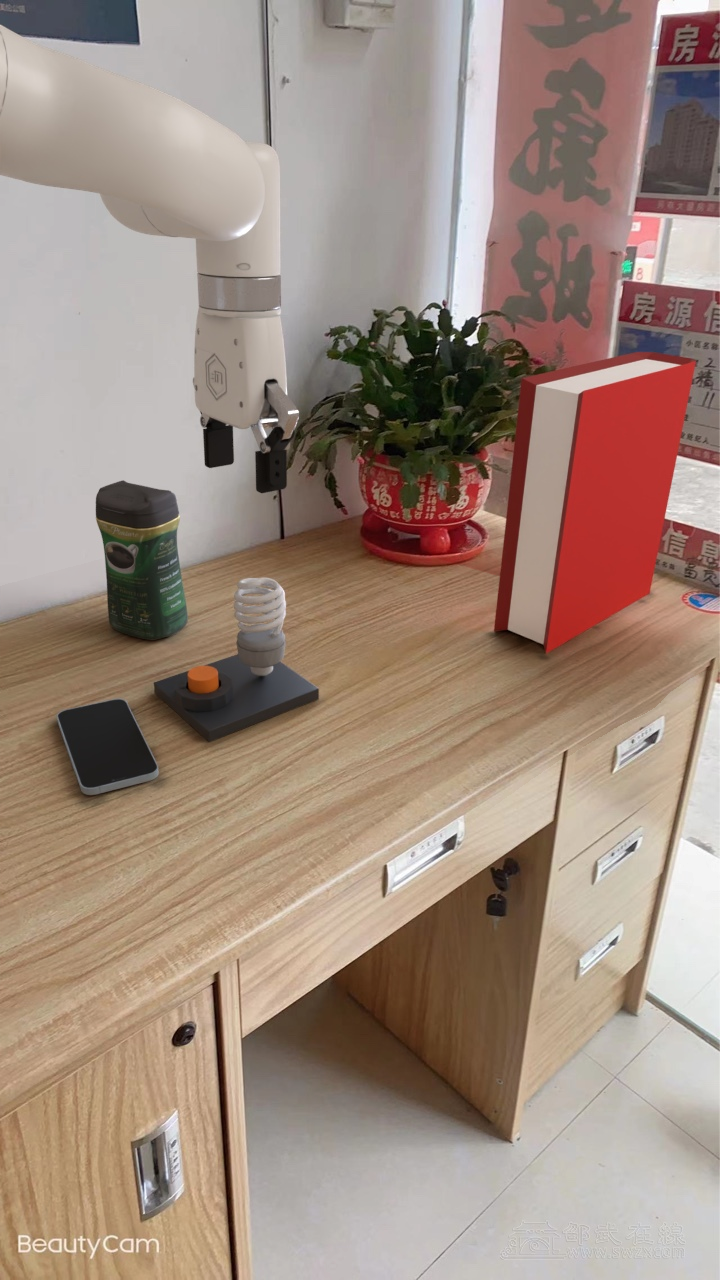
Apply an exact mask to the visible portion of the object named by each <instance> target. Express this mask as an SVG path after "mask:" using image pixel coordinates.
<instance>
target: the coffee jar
mask: <svg viewBox="0 0 720 1280" xmlns="http://www.w3.org/2000/svg"><path fill="white" fill-rule="evenodd" d="M177 501H178V500H177V497H176V494H175V493H174V492H172V491H171V490H169V489H160V488H155V487H151V486H147V485H141V484H136V483H133V482H132V483H131V482H128V481H125V480H119V481H116V482H113V483H110V484H107V485H104V486H102V487H100V488H99V489H98V492H97V493H96V496H95V520H96V524H97V527H98V530H99V532H100V534H101V539H102V545H103V552H104V553H103V554H104V563H105V575H106V598H107V600H106V602H107V614H108V622H109V623H108V624H109V625H110V627H111V628H112V629H114V630H116V631H117V632H120V633H122V634H124V635H128V636H130V637H134V638H139V639H143V640H147V641H155V640H159V639H163V638H167V637H171V636H174V635H175V634H178V633H179V632H180V631H181V630H182V629H184V627H185V626H186V625H187V624H188V621H189V616H188V609H187V608H188V607H187V601H186V595H185V589H184V584H183V578H182V571H181V563H180V557H179V550H178V530H179V529H178V528H179V525H180V519H181V517H180V510H179V506H178V502H177Z"/></svg>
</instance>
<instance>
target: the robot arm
mask: <svg viewBox="0 0 720 1280" xmlns="http://www.w3.org/2000/svg"><path fill="white" fill-rule="evenodd" d="M0 176H3V177H8V178H10V179H15V180H18V181H22V182H25V183H29V184H34V185H39V186H45V187H53V188H60V189H66V190H67V189H68V190H75V191H83V192H90V193H95V194H99V196H100V198H101V201H102V203H103V205H104V207H105V208H106V210H107V212H108V213H109V214H110V215H111V216H112V217H113V218H114V219H115V220H116V221H117V222H119V223H120V224H121V225H122V226H124V227H125V228H128V229H130V230H131V231H134V232H137V233H140V234H144V235H149V236H158V237H167V238H168V237H169V238H186V239H195V253H196V254H195V256H196V272H197V273H196V275H197V277H196V278H197V298H198V308H197V315H196V316H197V317H196V324H195V331H194V333H195V334H194V354H193V355H194V358H193V361H194V363H193V364H194V367H193V368H194V375H193V378H192V384H193V388H194V402H195V403H194V404H195V407H196V409H198V411H199V413H200V418H199V423H200V426H201V428H202V437H203V438H202V439H203V457H204V466H205V467H207V468H209V469H213V468H220V467H224V466H231V465H233V464H234V462H235V451H234V450H235V449H234V428H237V429H239V430H247V429H249V428H250V429H251V431H252V433H253V434H252V435H253V436H254V438H255V441H256V443H257V446H258V448H259V450H256V451H255V450H254V451H255V452H254V453H255V455H254V459H255V461H254V462H255V491H256V492H258V493H260V494H267V493H272V492H276V491H281V490H285V489H286V488H287V486H288V476H287V475H288V470H287V469H288V466H287V465H288V464H287V463H288V462H287V459H288V458H287V457H288V456H287V454H288V453H287V452H288V451H287V450H289V449H290V448H291V441H292V440H293V439H294V437H295V435H296V432H295V430H296V427H297V425H298V424H297V423H298V421H299V418H300V411H299V409H298V407H297V406H296V405H295V404H294V402H293V401H292V400H291V398H290V397H289V396H288V379H287V376H288V375H287V364H286V361H287V360H286V350H285V339H284V332H283V326H282V319H281V318H282V317H281V315H282V276H281V274H282V270H281V269H282V268H281V266H282V265H281V264H282V263H281V260H282V259H281V258H282V257H281V256H282V255H281V254H282V253H281V252H282V251H281V164H280V158H279V155H278V153H277V151H276V150H275V148H273V147H272V146H271V145H269V144H267V143H264V142H259V141H250V140H249V141H247V140H243V139H242V138H241V136H239V135H238V134H237V133H235V131H233V130H231V129H230V128H229V127H227V126H226V125H224V124H222V123H221V122H219V121H217V120H216V119H214V118H212V117H211V116H209V115H207V114H206V113H204V111H201V110H200V109H198V108H195V107H194V106H192V105H190V104H188V103H187V102H185V101H184V100H182V99H180V98H177V97H175V96H173V95H171V94H169V93H166V92H164V91H162V90H160V89H158V88H155V87H152V86H150V85H147V84H145V83H142V82H140V81H138V80H134V79H132V78H129V77H127V76H124V75H121V74H118V73H116V72H113V71H110V70H107V69H105V68H102V67H99V66H97V65H95V64H91V63H90V62H88V61H85V60H82V59H80V58H78V57H75V56H73V55H70V54H67V53H64V52H61V51H59V50H55V49H52V48H49V47H46V46H44V45H41V44H39V43H36V42H34V41H31V40H29V39H28V38H26V37H24V36H22V35H20V34H18V33H16V32H14V31H13V30H11V29H9V28H8V27H6V26H4V25H2V24H0ZM270 428H271V429H272V430H271V432H270V433H269V434H268V435H267V432H266V429H270Z"/></svg>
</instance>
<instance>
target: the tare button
mask: <svg viewBox="0 0 720 1280" xmlns="http://www.w3.org/2000/svg"><path fill="white" fill-rule="evenodd" d="M188 671H189V672H188V686H189V690H190V691H191V692H193V693H198V694H202V693H210V692H213V691H216V690H217V689H218V687H219V682H218V671H217V669H215V668H214V667H211V666H204V665H197V666H195V667H192V668H191V669H189V670H188Z"/></svg>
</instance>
